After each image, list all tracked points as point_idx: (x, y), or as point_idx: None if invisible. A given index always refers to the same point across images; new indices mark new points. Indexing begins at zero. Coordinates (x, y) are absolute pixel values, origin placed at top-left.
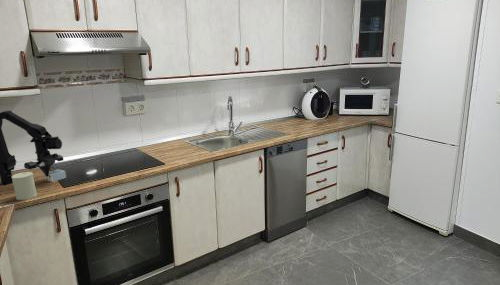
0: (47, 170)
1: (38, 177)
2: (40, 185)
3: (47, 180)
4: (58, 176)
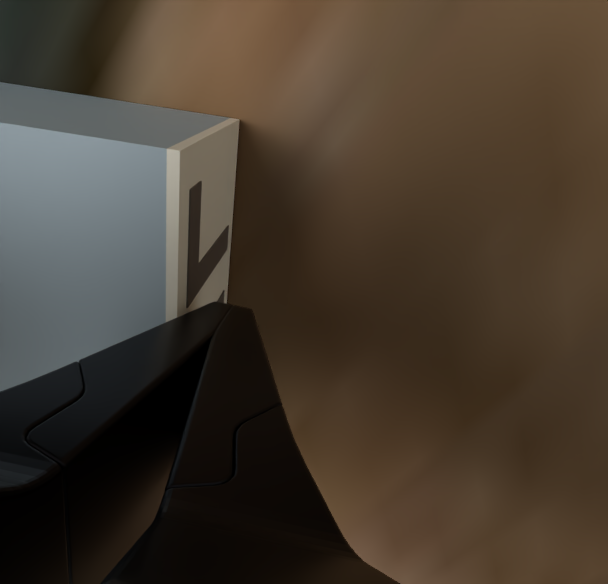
0: (146, 390)
1: None
2: (499, 222)
3: None
4: (19, 100)
